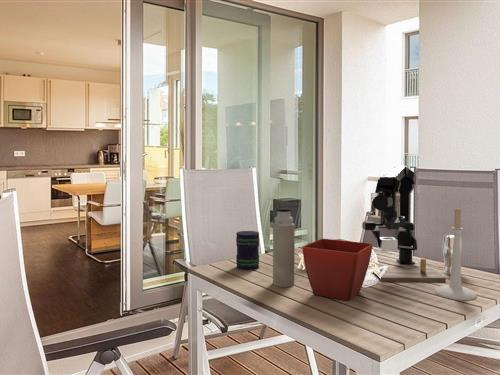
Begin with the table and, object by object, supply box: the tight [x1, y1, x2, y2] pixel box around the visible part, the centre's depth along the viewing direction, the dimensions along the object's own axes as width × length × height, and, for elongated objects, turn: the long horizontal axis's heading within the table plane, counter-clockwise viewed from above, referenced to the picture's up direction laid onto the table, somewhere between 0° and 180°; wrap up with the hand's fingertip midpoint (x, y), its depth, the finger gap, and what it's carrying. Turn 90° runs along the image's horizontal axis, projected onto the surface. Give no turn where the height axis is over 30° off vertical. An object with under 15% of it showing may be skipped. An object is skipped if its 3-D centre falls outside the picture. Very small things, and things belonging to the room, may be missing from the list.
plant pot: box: [302, 238, 373, 301], centre depth 151 cm, size 19×19×17 cm
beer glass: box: [442, 234, 463, 275], centre depth 178 cm, size 7×7×15 cm
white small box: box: [377, 236, 399, 252], centre depth 172 cm, size 6×6×4 cm
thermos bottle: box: [272, 207, 296, 288], centre depth 162 cm, size 8×8×28 cm
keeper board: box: [380, 258, 447, 283], centre depth 172 cm, size 14×24×7 cm, turn 88°
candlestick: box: [434, 207, 477, 301], centre depth 149 cm, size 13×13×30 cm
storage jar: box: [235, 230, 260, 272], centre depth 186 cm, size 10×10×15 cm
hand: (387, 247), depth 172 cm, fingers closed on white small box, 6 cm apart
